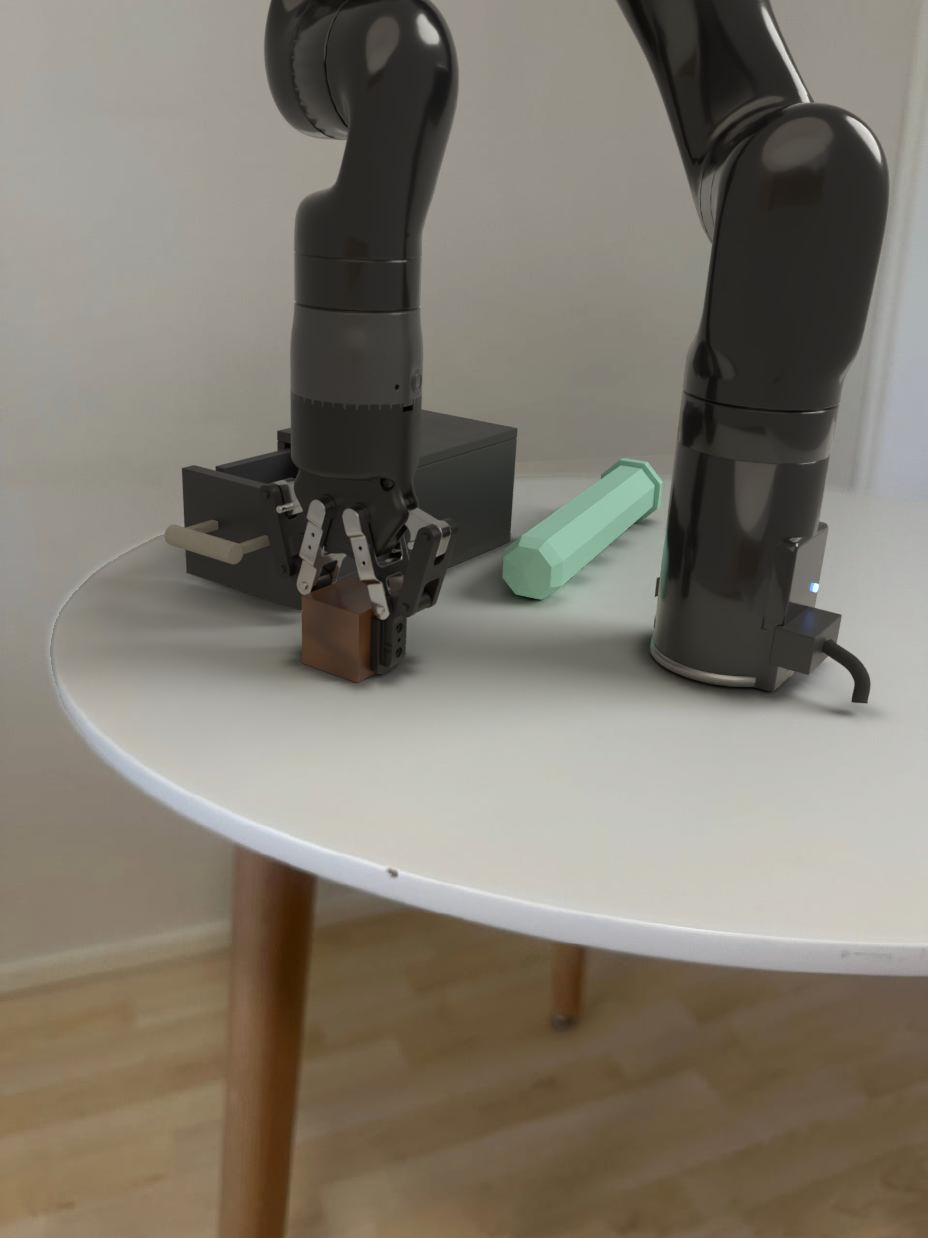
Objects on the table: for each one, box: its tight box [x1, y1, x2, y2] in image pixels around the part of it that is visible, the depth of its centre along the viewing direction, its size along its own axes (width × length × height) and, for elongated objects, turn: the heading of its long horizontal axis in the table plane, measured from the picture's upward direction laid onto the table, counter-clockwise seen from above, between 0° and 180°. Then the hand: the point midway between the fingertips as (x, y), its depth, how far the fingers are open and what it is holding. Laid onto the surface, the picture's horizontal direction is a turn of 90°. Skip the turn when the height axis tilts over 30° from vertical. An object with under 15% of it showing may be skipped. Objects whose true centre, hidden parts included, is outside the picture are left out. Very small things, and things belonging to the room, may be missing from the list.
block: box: [301, 577, 391, 683], centre depth 72 cm, size 4×4×4 cm
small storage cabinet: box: [276, 408, 519, 583], centre depth 92 cm, size 15×13×10 cm
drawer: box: [164, 448, 387, 612], centre depth 82 cm, size 18×11×8 cm, turn 145°
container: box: [501, 457, 664, 601], centre depth 93 cm, size 6×6×25 cm
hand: (353, 656), depth 72 cm, fingers closed on block, 4 cm apart
